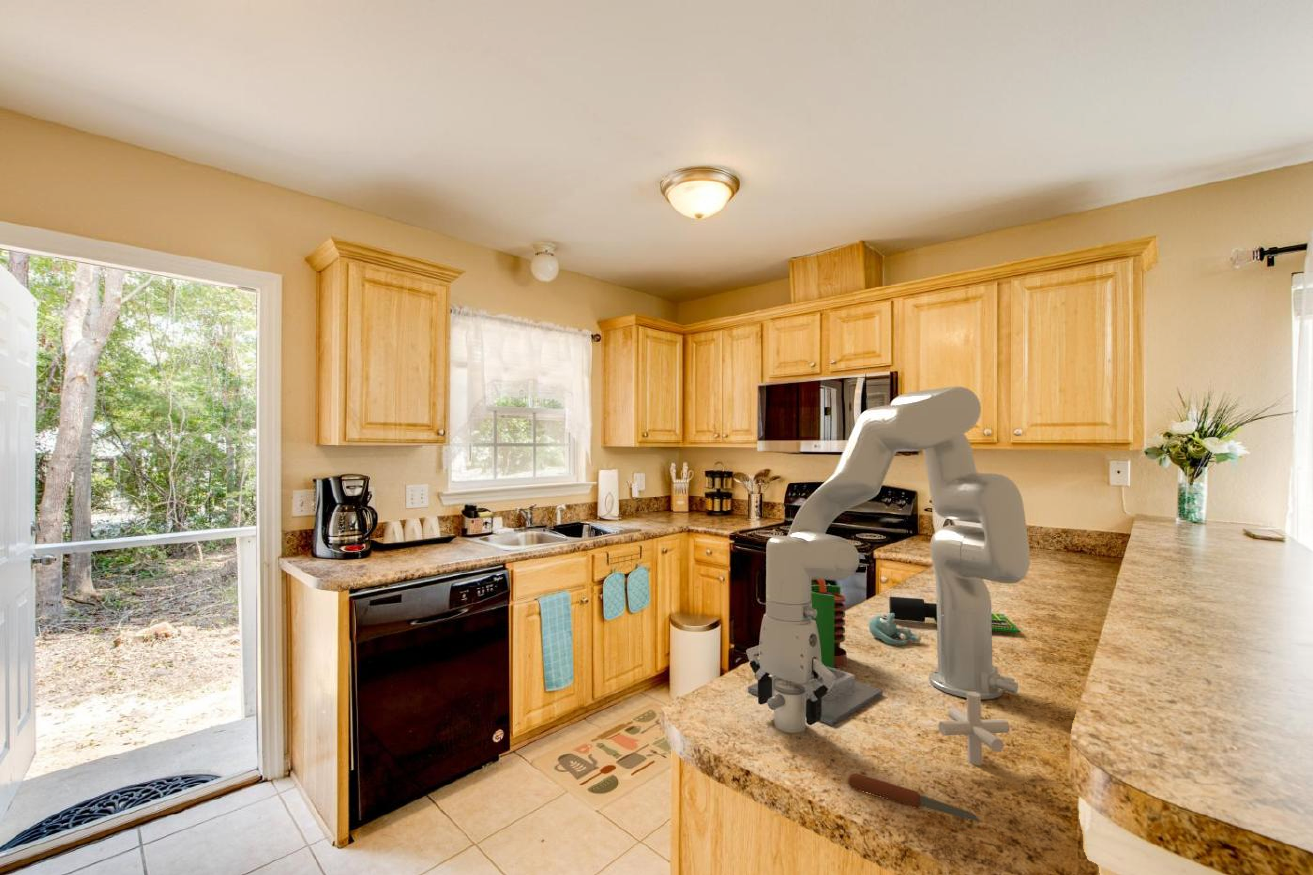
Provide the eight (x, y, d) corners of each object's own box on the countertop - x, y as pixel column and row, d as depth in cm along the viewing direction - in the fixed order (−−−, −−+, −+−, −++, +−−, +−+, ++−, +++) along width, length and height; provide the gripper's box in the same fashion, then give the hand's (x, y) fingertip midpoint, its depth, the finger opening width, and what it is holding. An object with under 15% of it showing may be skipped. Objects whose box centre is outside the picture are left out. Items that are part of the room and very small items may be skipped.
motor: (849, 670, 117) (848, 576, 118) (806, 667, 119) (805, 574, 120) (843, 654, 127) (842, 566, 128) (803, 651, 129) (802, 565, 130)
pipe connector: (923, 745, 87) (922, 681, 87) (983, 743, 88) (982, 679, 88) (964, 783, 77) (963, 710, 77) (1031, 779, 78) (1030, 707, 78)
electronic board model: (1002, 595, 153) (1019, 610, 139) (1003, 620, 153) (1020, 637, 139) (887, 587, 163) (891, 600, 148) (887, 611, 162) (891, 626, 148)
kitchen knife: (847, 789, 76) (847, 774, 76) (850, 784, 77) (849, 769, 77) (979, 831, 67) (979, 814, 67) (980, 825, 68) (980, 808, 69)
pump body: (812, 725, 93) (812, 683, 93) (785, 741, 88) (785, 697, 88) (785, 714, 97) (785, 674, 97) (758, 729, 92) (758, 686, 92)
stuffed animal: (922, 628, 129) (868, 611, 135) (916, 658, 129) (863, 639, 135) (926, 617, 138) (875, 601, 144) (920, 644, 138) (870, 628, 144)
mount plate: (882, 695, 105) (882, 678, 105) (832, 726, 93) (832, 706, 93) (801, 668, 118) (801, 653, 119) (748, 692, 106) (747, 675, 107)
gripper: (846, 617, 90) (846, 723, 89) (761, 596, 103) (760, 689, 102) (821, 626, 85) (821, 739, 84) (735, 603, 98) (734, 701, 97)
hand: (788, 711), depth 93 cm, fingers open, 9 cm apart
